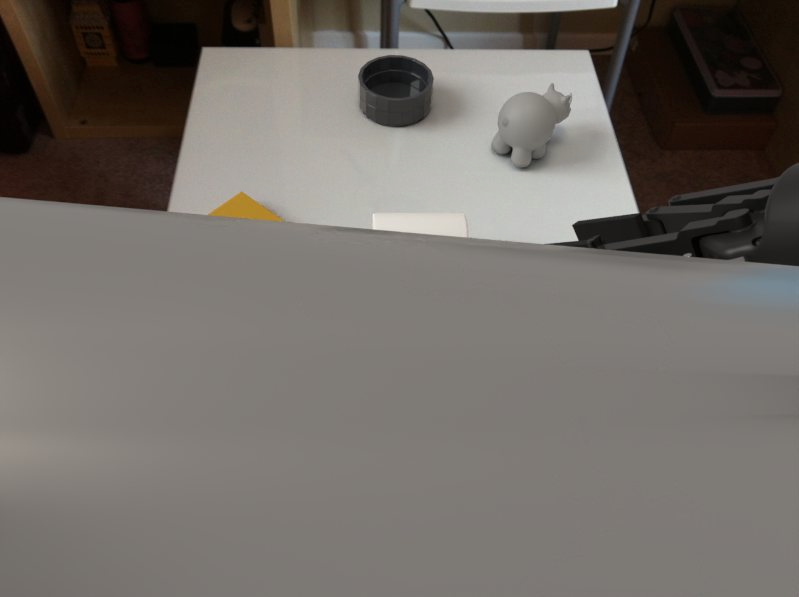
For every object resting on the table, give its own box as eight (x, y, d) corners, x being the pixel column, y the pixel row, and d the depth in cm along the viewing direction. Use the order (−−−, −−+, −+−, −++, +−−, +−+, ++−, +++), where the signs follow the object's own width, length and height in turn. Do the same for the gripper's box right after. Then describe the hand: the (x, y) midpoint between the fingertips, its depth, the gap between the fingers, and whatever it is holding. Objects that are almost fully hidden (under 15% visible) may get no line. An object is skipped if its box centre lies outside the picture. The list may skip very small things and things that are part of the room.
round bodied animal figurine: (584, 142, 99) (600, 89, 92) (518, 178, 94) (530, 124, 87) (546, 114, 102) (559, 60, 95) (481, 147, 97) (489, 93, 91)
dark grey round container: (399, 138, 98) (400, 110, 94) (343, 105, 102) (342, 77, 98) (445, 103, 103) (448, 76, 99) (390, 73, 107) (391, 46, 103)
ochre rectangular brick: (264, 273, 83) (262, 261, 81) (205, 229, 86) (202, 217, 85) (302, 244, 86) (301, 232, 84) (243, 203, 89) (241, 190, 88)
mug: (371, 247, 86) (372, 197, 79) (457, 246, 86) (464, 197, 80) (373, 331, 78) (374, 284, 72) (467, 330, 79) (475, 283, 73)
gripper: (810, 373, 35) (508, 344, 55) (967, 219, 42) (646, 244, 62) (761, 230, 33) (468, 255, 54) (933, 94, 40) (614, 163, 60)
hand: (564, 249), depth 58 cm, fingers open, 3 cm apart
